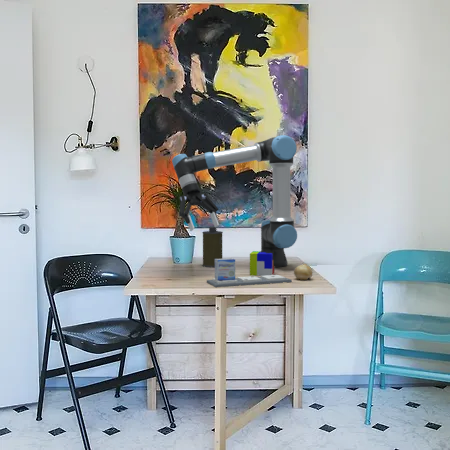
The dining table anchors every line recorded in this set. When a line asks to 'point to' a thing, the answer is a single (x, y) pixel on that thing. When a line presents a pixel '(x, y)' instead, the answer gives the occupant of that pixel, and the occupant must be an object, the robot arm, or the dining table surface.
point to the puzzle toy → (261, 263)
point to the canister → (212, 246)
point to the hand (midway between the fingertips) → (204, 227)
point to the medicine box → (225, 269)
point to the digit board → (249, 281)
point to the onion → (303, 272)
